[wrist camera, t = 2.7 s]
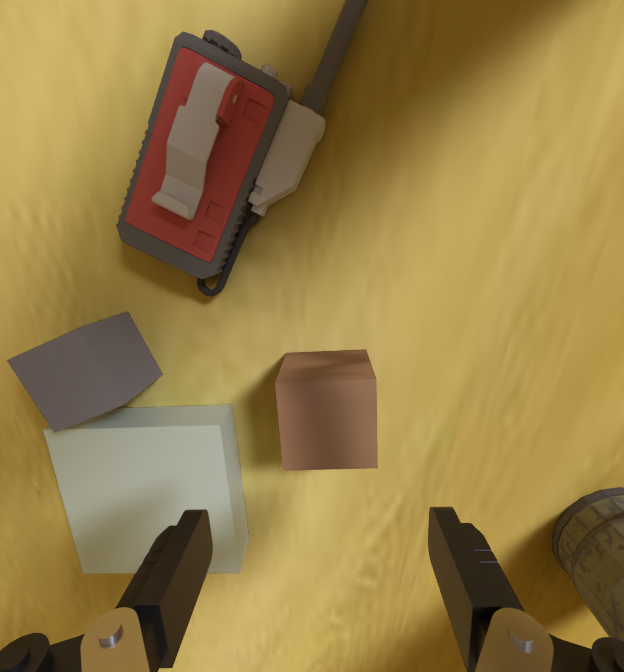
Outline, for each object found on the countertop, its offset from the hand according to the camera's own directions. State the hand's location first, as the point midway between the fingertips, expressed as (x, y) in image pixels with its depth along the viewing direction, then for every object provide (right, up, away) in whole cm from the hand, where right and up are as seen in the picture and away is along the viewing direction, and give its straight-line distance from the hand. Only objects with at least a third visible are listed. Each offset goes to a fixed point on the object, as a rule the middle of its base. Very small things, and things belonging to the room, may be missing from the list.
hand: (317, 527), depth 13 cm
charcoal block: (-14, +5, +13) cm, 20 cm away
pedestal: (-12, -4, +15) cm, 19 cm away
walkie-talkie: (-4, +19, +9) cm, 22 cm away
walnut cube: (+1, +3, +12) cm, 13 cm away
